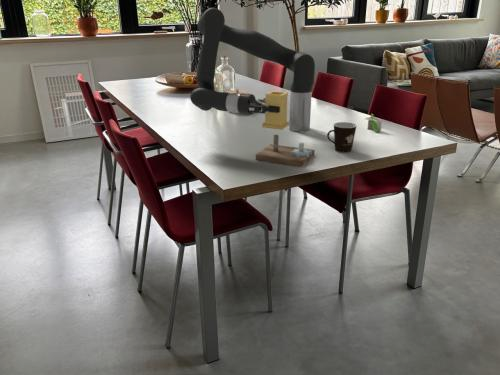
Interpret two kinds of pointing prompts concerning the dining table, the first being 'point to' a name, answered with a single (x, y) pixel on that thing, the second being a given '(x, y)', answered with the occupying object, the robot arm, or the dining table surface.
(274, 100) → the yellow hollow block
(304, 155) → the gear
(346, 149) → the coffee mug
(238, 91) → the lidded bowl
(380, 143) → the dining table surface
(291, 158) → the gear board
